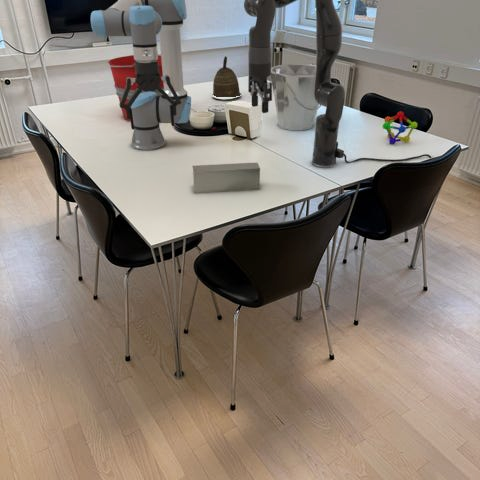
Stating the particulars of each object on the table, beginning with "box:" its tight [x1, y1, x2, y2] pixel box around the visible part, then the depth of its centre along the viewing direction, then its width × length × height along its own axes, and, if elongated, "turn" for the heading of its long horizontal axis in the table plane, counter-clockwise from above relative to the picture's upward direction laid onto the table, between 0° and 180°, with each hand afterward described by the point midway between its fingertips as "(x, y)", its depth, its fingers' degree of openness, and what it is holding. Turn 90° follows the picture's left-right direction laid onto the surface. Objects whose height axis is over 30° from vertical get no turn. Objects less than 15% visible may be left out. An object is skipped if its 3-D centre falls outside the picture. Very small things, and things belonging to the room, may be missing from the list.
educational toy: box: [382, 110, 418, 145], centre depth 207 cm, size 16×13×15 cm
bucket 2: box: [270, 63, 322, 131], centre depth 226 cm, size 30×30×28 cm
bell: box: [212, 56, 242, 97], centre depth 278 cm, size 19×26×20 cm
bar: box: [192, 162, 261, 194], centre depth 165 cm, size 24×6×9 cm, turn 98°
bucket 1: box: [105, 54, 164, 122], centre depth 239 cm, size 35×35×30 cm
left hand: (152, 126), depth 152 cm, fingers open, 13 cm apart
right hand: (259, 109), depth 156 cm, fingers open, 8 cm apart
